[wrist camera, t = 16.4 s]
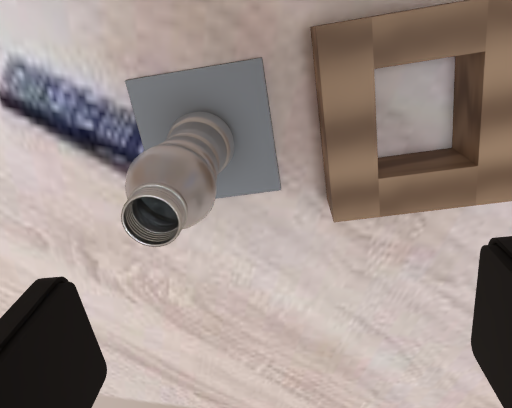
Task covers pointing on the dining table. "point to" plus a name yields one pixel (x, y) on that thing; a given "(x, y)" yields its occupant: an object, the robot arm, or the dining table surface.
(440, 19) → the bore block
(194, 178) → the plastic bottle
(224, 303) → the dining table surface
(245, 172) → the pad
